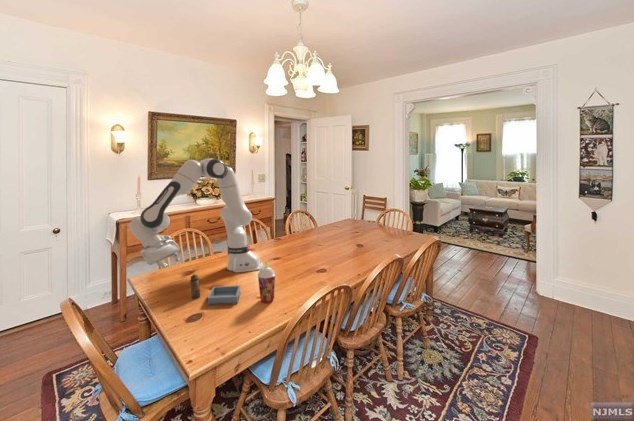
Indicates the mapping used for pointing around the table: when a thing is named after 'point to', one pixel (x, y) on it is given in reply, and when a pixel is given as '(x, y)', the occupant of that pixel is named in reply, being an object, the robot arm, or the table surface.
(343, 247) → the table surface
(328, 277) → the table surface
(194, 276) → the pepper mill
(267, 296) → the smoothie
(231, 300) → the serving tray
